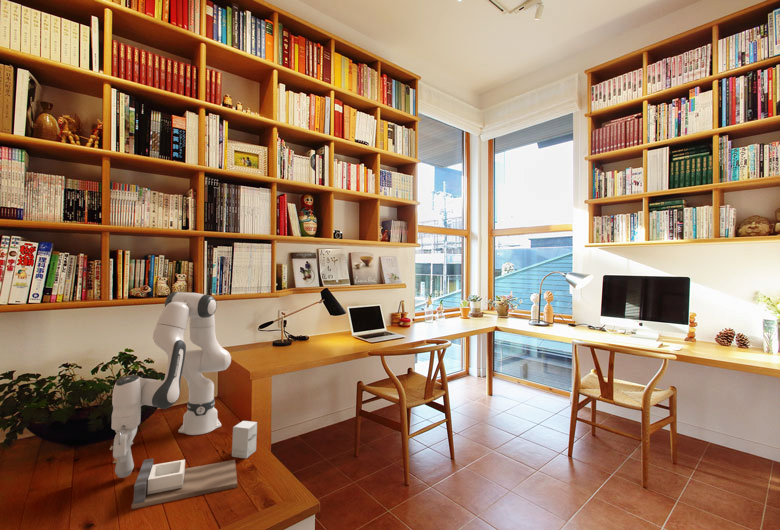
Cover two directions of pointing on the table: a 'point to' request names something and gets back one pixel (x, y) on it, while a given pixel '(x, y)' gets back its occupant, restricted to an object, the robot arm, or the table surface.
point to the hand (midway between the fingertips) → (125, 457)
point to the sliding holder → (166, 476)
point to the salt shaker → (125, 465)
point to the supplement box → (244, 439)
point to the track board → (186, 483)
